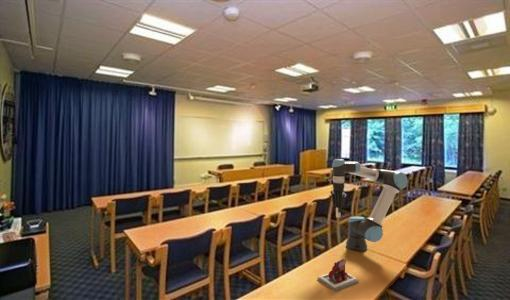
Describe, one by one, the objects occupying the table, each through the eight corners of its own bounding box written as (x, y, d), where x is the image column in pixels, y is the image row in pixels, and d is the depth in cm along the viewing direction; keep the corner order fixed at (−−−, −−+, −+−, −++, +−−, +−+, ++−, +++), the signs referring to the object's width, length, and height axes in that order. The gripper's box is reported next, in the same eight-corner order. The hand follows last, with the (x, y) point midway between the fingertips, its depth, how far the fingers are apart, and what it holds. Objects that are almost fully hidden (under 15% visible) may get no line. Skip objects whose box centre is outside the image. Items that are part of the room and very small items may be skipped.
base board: (339, 272, 166) (339, 268, 166) (358, 282, 154) (358, 278, 154) (317, 279, 158) (317, 275, 158) (335, 291, 145) (335, 287, 145)
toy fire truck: (326, 279, 155) (326, 262, 155) (339, 273, 162) (339, 256, 162) (336, 285, 150) (336, 266, 149) (349, 278, 157) (349, 260, 156)
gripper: (327, 181, 185) (327, 215, 186) (342, 184, 174) (341, 220, 175) (335, 180, 189) (335, 213, 190) (350, 183, 178) (349, 218, 179)
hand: (338, 216), depth 182 cm, fingers closed
